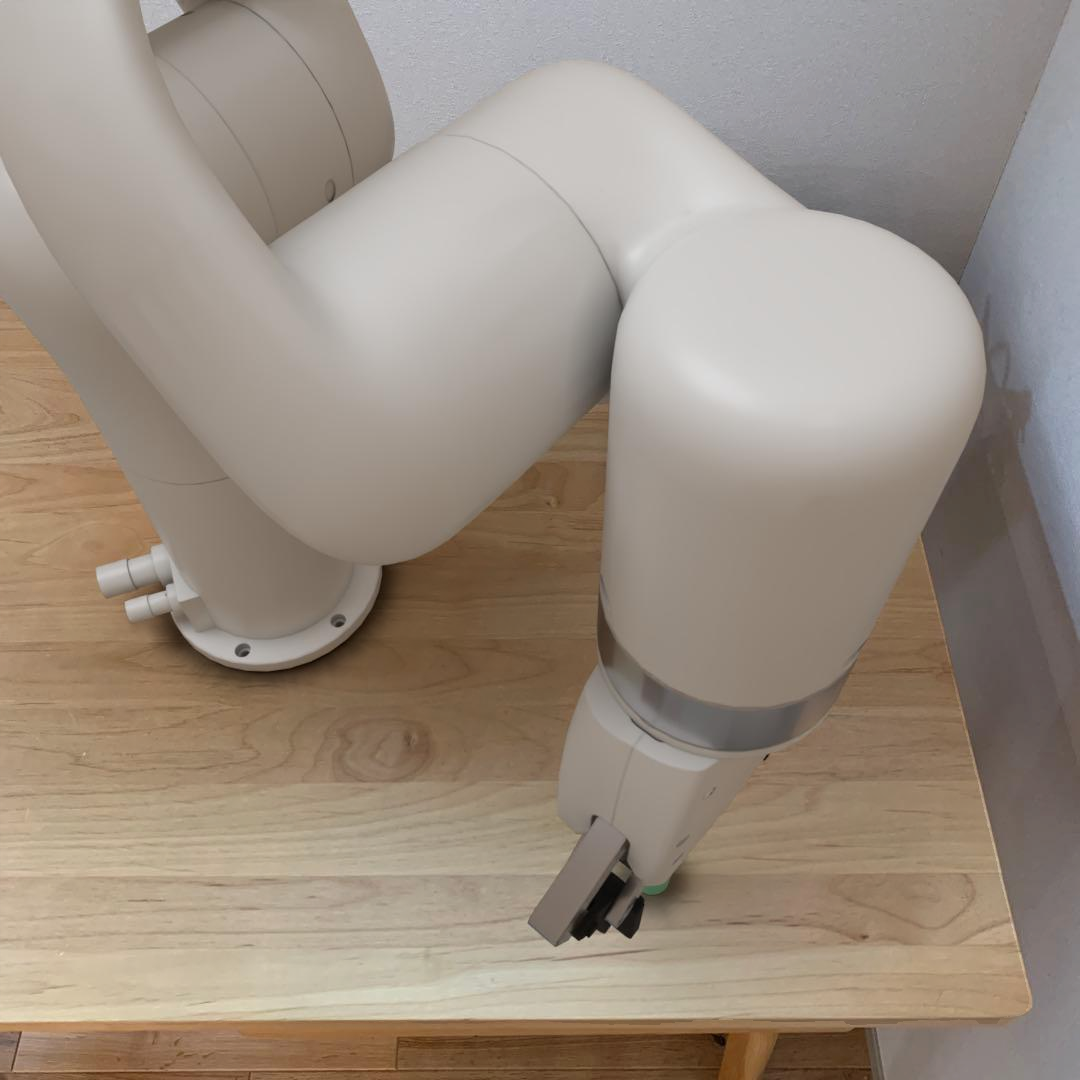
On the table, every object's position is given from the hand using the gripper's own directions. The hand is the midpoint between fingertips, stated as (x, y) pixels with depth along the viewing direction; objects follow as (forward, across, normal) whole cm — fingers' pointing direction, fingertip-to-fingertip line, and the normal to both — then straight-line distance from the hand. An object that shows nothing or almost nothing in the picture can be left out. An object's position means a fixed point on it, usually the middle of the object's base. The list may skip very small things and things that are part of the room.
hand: (673, 819), depth 44 cm
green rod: (+9, 0, 0) cm, 9 cm away
